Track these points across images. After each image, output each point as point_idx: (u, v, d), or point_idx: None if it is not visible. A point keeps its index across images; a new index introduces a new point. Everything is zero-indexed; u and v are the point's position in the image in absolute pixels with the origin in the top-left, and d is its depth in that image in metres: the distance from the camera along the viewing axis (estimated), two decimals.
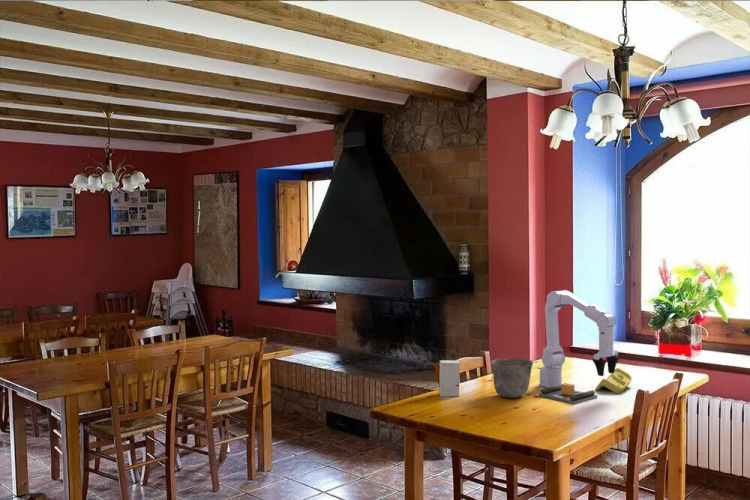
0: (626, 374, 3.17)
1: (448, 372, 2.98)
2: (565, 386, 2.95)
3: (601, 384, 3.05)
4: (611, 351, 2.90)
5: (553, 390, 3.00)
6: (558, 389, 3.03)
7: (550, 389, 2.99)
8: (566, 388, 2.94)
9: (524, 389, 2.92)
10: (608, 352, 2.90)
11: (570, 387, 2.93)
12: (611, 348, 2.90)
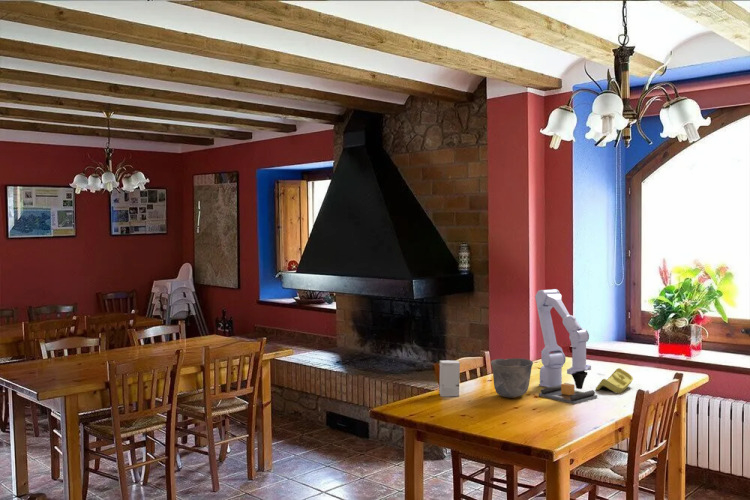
0: (627, 374, 3.16)
1: (448, 372, 2.98)
2: (565, 386, 2.95)
3: (601, 384, 3.05)
4: (584, 366, 2.98)
5: (553, 390, 3.00)
6: (558, 389, 3.03)
7: (550, 389, 2.99)
8: (566, 388, 2.94)
9: (524, 389, 2.92)
10: (581, 367, 2.97)
11: (570, 387, 2.93)
12: (584, 363, 2.98)
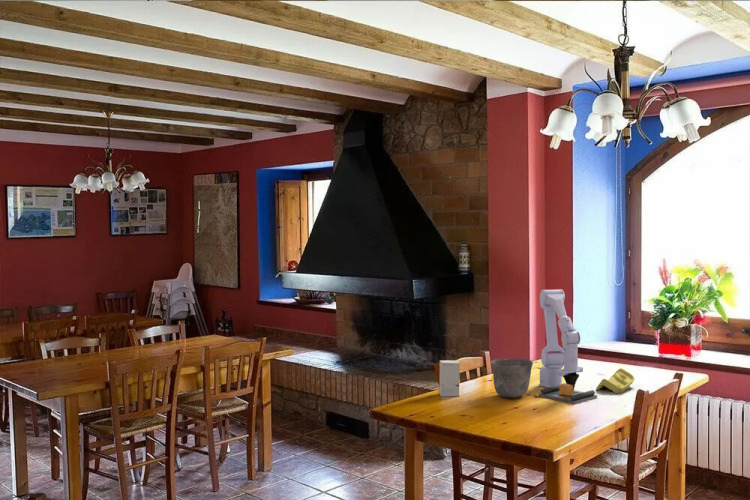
0: (629, 374, 3.16)
1: (448, 372, 2.98)
2: (563, 386, 2.94)
3: (601, 384, 3.05)
4: (575, 368, 2.94)
5: (553, 390, 3.00)
6: (558, 389, 3.03)
7: (550, 389, 2.99)
8: (564, 388, 2.94)
9: (524, 389, 2.92)
10: (572, 369, 2.94)
11: (568, 388, 2.93)
12: (575, 365, 2.94)
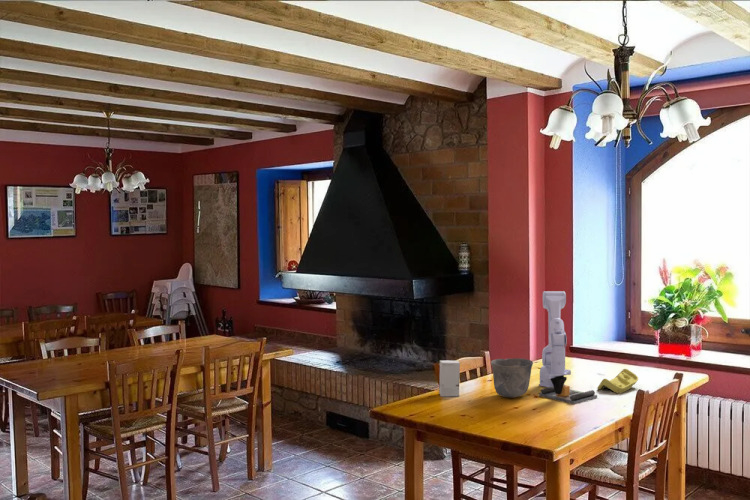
0: (633, 375, 3.15)
1: (448, 372, 2.98)
2: None
3: (602, 384, 3.05)
4: (563, 370, 2.89)
5: (553, 390, 3.00)
6: None
7: (550, 389, 2.99)
8: None
9: (524, 389, 2.92)
10: (560, 371, 2.89)
11: (565, 388, 2.91)
12: (563, 367, 2.89)
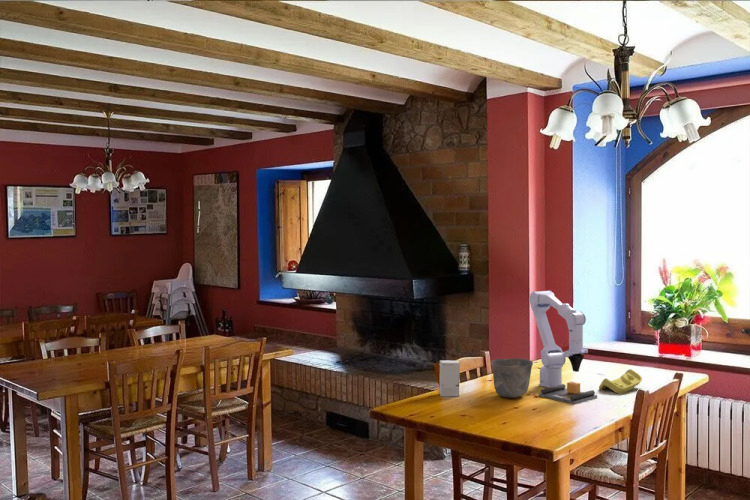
0: (638, 376, 3.13)
1: (448, 372, 2.98)
2: (571, 385, 2.97)
3: (603, 383, 3.06)
4: (580, 348, 2.98)
5: (553, 390, 3.00)
6: (558, 389, 3.03)
7: (550, 389, 2.99)
8: (572, 387, 2.97)
9: (524, 389, 2.92)
10: (577, 349, 2.97)
11: (576, 386, 2.96)
12: (580, 345, 2.98)
